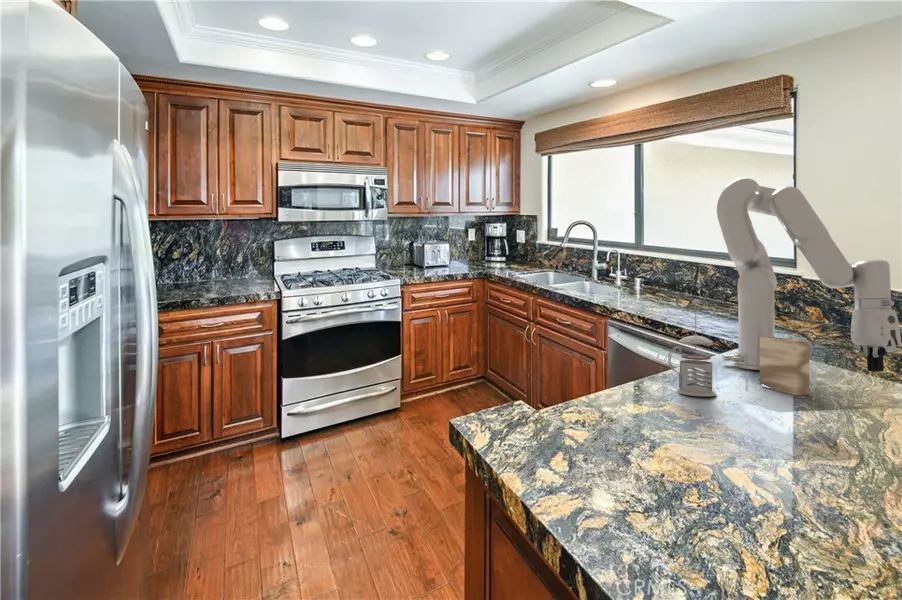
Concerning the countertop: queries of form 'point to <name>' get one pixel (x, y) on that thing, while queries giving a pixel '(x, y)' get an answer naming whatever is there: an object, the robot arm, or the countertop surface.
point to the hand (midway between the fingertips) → (875, 371)
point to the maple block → (785, 364)
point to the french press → (691, 385)
